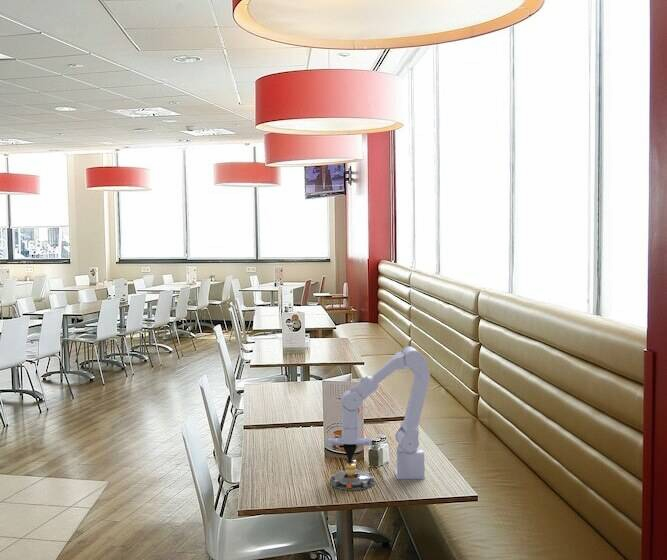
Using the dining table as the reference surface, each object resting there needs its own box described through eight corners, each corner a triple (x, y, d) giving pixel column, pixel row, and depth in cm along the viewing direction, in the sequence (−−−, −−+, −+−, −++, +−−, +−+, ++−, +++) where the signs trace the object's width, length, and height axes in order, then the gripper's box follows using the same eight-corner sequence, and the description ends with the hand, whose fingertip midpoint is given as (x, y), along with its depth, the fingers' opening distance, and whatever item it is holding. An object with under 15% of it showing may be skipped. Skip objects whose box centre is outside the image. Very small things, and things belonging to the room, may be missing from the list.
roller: (357, 477, 241) (357, 463, 240) (353, 481, 238) (352, 467, 237) (348, 476, 242) (348, 461, 242) (344, 479, 239) (343, 465, 239)
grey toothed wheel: (381, 477, 246) (380, 461, 245) (360, 491, 234) (360, 474, 233) (345, 470, 253) (344, 455, 253) (323, 483, 241) (323, 467, 241)
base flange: (373, 474, 251) (373, 472, 251) (376, 490, 236) (376, 488, 236) (330, 475, 251) (330, 473, 251) (330, 491, 236) (330, 489, 236)
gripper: (371, 423, 250) (370, 462, 251) (328, 423, 250) (328, 461, 251) (372, 429, 243) (371, 469, 244) (328, 429, 243) (328, 468, 244)
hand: (349, 465), depth 247 cm, fingers closed, pressing on grey toothed wheel
